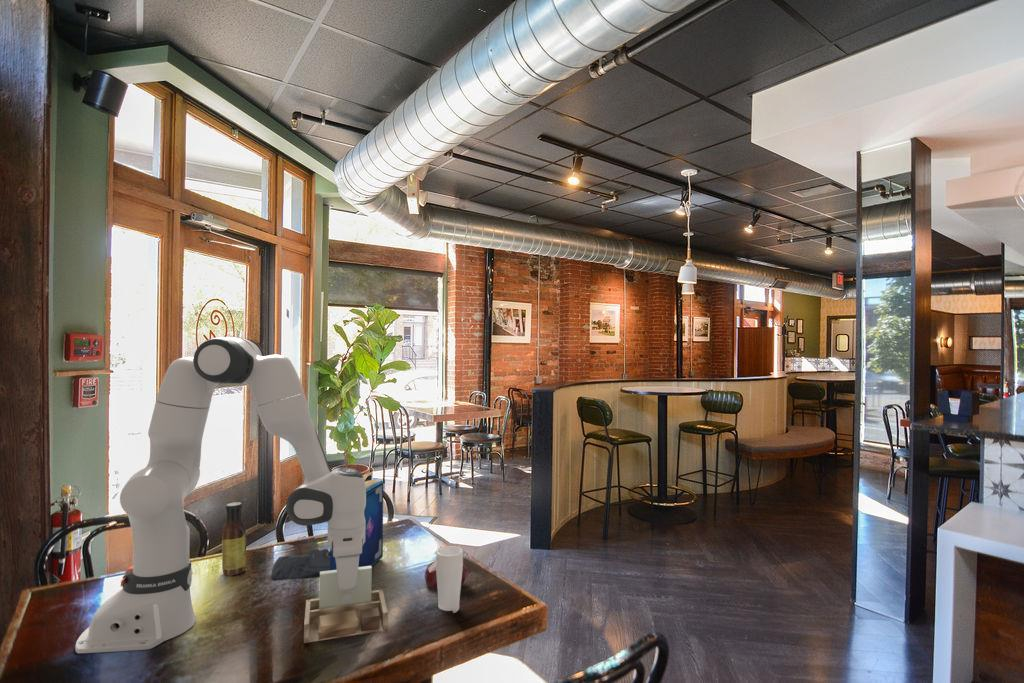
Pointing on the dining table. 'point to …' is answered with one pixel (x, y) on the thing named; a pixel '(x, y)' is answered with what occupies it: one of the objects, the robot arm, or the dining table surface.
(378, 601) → the rack
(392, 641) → the dining table surface
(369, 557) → the book
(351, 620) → the offcut top
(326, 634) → the offcut low
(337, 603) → the sheet
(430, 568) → the heart
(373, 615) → the offcut small
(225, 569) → the sauce bottle
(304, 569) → the dark slate chunk
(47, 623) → the dining table surface
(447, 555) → the drinking glass
